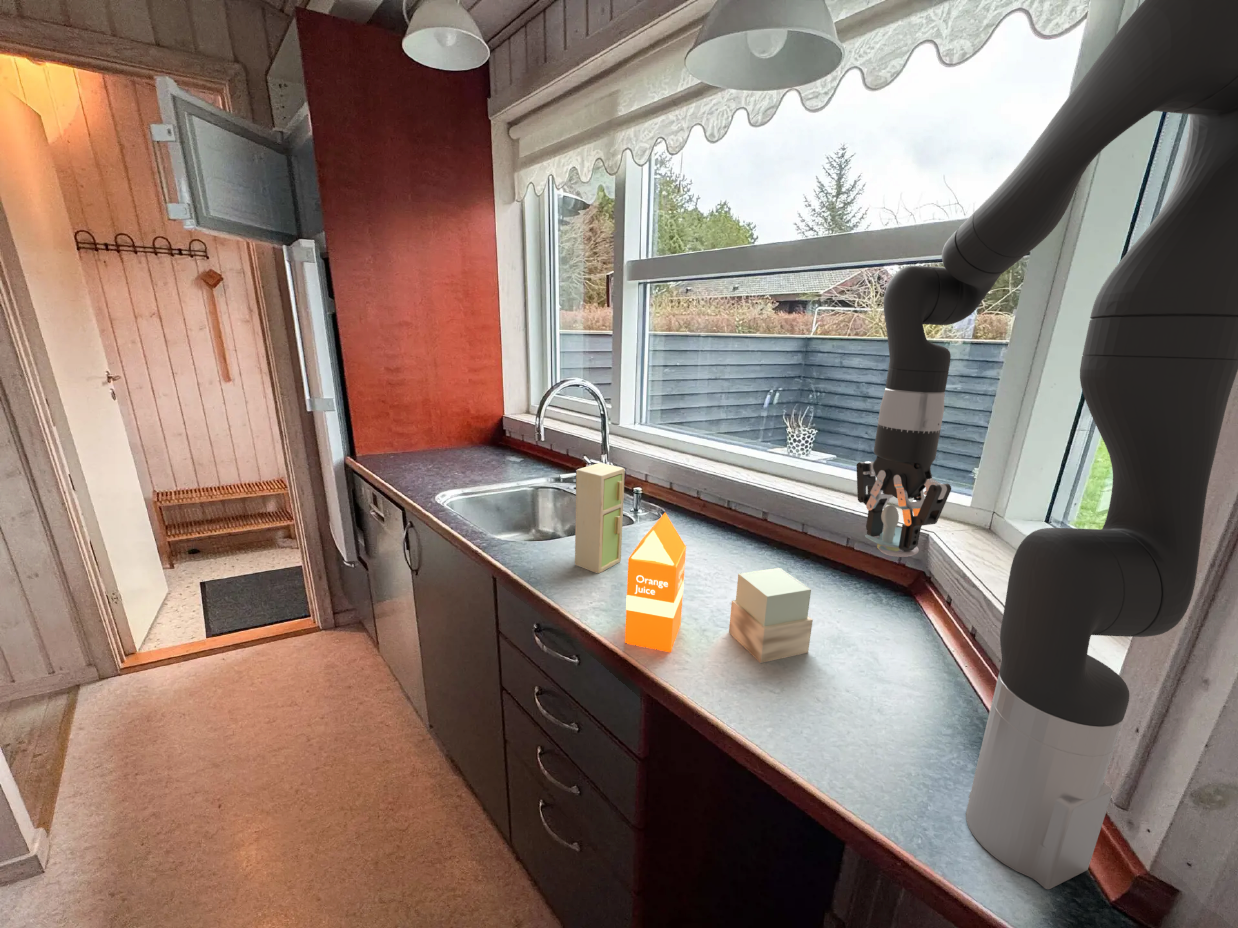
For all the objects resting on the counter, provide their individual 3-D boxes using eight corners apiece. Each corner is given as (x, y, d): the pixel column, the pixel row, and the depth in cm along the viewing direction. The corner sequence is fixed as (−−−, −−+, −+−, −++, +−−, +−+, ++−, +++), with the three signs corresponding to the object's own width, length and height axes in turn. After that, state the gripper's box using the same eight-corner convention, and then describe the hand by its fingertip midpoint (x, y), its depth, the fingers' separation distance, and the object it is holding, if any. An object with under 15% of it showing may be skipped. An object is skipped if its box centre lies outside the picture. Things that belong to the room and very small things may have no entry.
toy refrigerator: (601, 575, 110) (603, 475, 104) (573, 565, 114) (575, 469, 109) (624, 562, 116) (628, 468, 111) (597, 553, 120) (600, 462, 115)
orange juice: (681, 624, 93) (689, 514, 88) (671, 652, 84) (679, 533, 79) (637, 616, 95) (642, 508, 90) (623, 643, 87) (628, 526, 82)
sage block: (807, 618, 85) (811, 589, 83) (764, 626, 82) (767, 596, 81) (776, 594, 92) (779, 567, 91) (735, 601, 89) (738, 573, 88)
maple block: (808, 653, 86) (812, 619, 84) (760, 663, 83) (764, 629, 81) (773, 624, 94) (777, 593, 92) (728, 633, 91) (731, 600, 89)
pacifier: (928, 554, 76) (888, 538, 81) (937, 512, 74) (896, 498, 79) (896, 563, 72) (857, 546, 77) (905, 520, 70) (864, 505, 75)
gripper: (979, 432, 67) (954, 559, 71) (887, 415, 80) (870, 523, 84) (935, 434, 65) (912, 566, 69) (847, 416, 78) (832, 527, 82)
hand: (889, 541), depth 77 cm, fingers closed on pacifier, 5 cm apart
